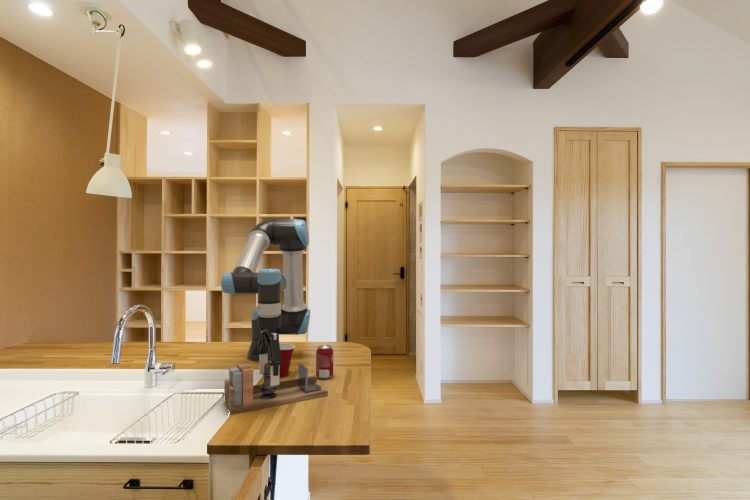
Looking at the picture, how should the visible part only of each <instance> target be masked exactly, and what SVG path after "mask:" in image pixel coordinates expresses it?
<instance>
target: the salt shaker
mask: <svg viewBox="0 0 750 500" xmlns="http://www.w3.org/2000/svg"><path fill="white" fill-rule="evenodd" d="M270 363H271V361H269V360H268V363H266V364H265V365H264V373H262V376H263V382H262V383H260V384H261V385H260V384H259V385H260V386H259V387H260V389H261V392H262V393H264V394H262V395H261V396H260V397H261V398H262V399H272V398H275V397H276V396H277V394H275V393H274V392H275V391H276V388H277V386H278V385H275V386H270V366H269V365H270Z"/></svg>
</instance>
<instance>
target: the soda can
mask: <svg viewBox="0 0 750 500" xmlns="http://www.w3.org/2000/svg"><path fill="white" fill-rule="evenodd" d="M332 347H333V346H332V345H330V344H322V345H318V346H317V349H316V351H315V375H316V376H317V379H320V380H328V379H330V378H332V377H333V376H334V349H333V348H332Z"/></svg>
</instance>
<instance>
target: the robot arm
mask: <svg viewBox="0 0 750 500" xmlns="http://www.w3.org/2000/svg"><path fill="white" fill-rule="evenodd" d="M309 234H310V233H309V228H308V224H307V222H306V220H304V219H297V218H280V219H279V218H277V219H275V218H269V219H266V220H262V221H261V222H259V223H258V224H256V225H255V226H254V227H253V228H251V229H250V230H249V232H248V234H247V236H246V244H245V246H244V248H243V250H242V252H241V255H240V256H239V257H238V258H239V259H238V260H237V262H236V265H235V267H234V269H233V270H232V272H231V271H228V272H224V273H223V274H222V275H221V278H220V286H221V287H220V288H221V290H222V292H223V293H224V294H229V295H230V294H231V295H232V294H234V295H238V294H239V295H243V294H244V295H245V294H250V295H257V305H256V306H255V309H254V310H252V312H251V342H250V345H249V348H248V350H247V356H246V357H247V360H249V361H253V362H258V363H259V365H258V367H259V369H258V372H259V373H258V374H259V375H261V374H262V375H263V374H264V365H265V364H266V363H268V360H269V362H270V365H269V366H270V386H275V385H279V381H280V377H279V365H280V364H282V359H281V352H280V344H279V343H280V335H281V336H282V335H286V336H287V335H288V336H289V335H290V336H298V335H306V334H307V333H308V331H309V327H310V326H309V325H310V319H311V309H309V308H308V306H307V304H306V303H305V302H304V274H303V271H304V270H303V268H304V267H303V253H304V252H305V251H306V250H307V249H306V248H307V246H309V245H310V235H309ZM269 246H278V249H279V250H278V251H280V253H282V263H283V267H282V268H283V273H282V272H281V269H279V268H259V270H258V271H257V269H258V266H259V264H260V262H261V259H262V256H263V254H264V252H265V250H266V249H267V248H268V247H269ZM256 271H257V272H256ZM282 293H284V294H283V295H284V296H283V297H284V299H283V301H284V303H283V304H282V301H281V300H282V298H281V296H282ZM276 360H277V361H276Z"/></svg>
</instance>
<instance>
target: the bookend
mask: <svg viewBox="0 0 750 500" xmlns="http://www.w3.org/2000/svg"><path fill="white" fill-rule="evenodd" d="M297 375H298V376H297V378H298V386H299V387H300V388H301V389H302V390H303V391H304V392H310V391H316V390H321V388H320V387H319V386H318V385H316V384H315V383H314V382H313V383H308V376H309V368H308V367H306V366H305V365H303V364H302V363H298V374H297Z"/></svg>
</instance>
